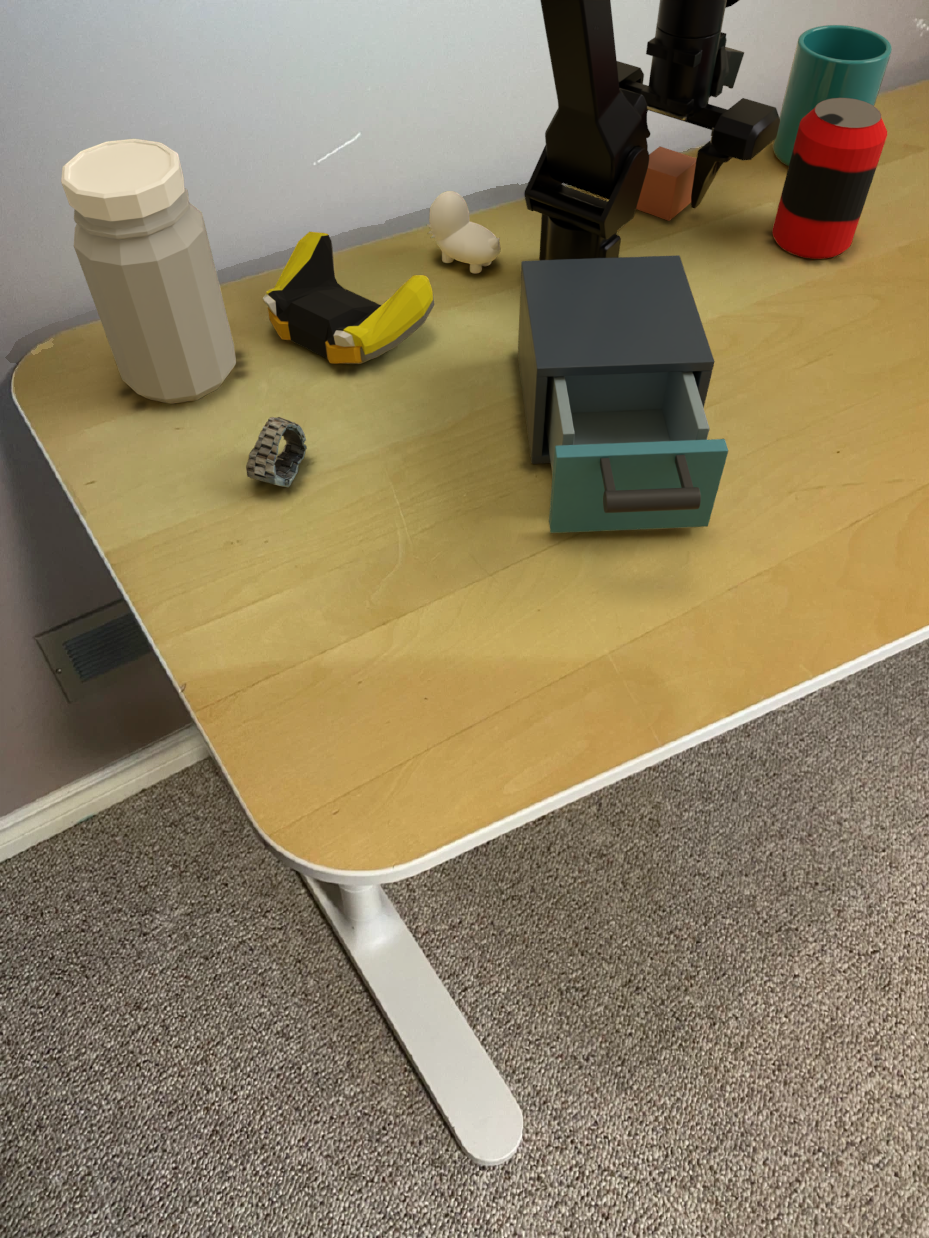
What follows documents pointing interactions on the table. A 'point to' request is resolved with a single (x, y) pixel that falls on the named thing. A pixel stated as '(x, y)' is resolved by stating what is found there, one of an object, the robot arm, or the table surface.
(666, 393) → the drawer
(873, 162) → the soda can
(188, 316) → the jar
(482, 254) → the toy creature
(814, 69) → the cup
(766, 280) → the table surface
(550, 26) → the robot arm
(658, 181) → the block
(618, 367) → the small filing cabinet
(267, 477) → the wristwatch
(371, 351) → the gaming controller
